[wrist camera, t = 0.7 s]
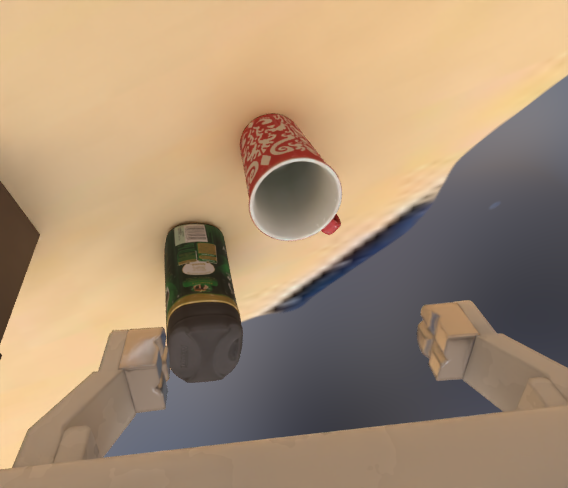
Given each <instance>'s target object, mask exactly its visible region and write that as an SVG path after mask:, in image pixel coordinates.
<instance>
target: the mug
mask: <svg viewBox="0 0 568 488" xmlns="http://www.w3.org/2000/svg"><path fill="white" fill-rule="evenodd" d="M240 150H241V156H242V160H243V166H244V171H245V177H246V183H247V188H248V194H249V212H250V216H251V218H252V221H253V222H254V224H255V226H256V227H257V228H258V229H259V230H260V231H261V232H262V233H264V234H265V235H267V236H269V237H271V238H274V239H277V240H282V241H296V240H301V239H305V238H307V237H310V236H312V235H314V234H316V233H318V232H319V231H322V232H324V233H325V234H328V235H330V234H332V233H334V232H335V231H336V230H337V229H338V228H339V227H340V225H341V222H340V219H339V217H338V216H337V214H336V213H337V211H338V209H339V207H340V204H341V199H342V187H341V183H340V180H339V178H338V176H337V174H336V172H335V171H334V170H333V169H332V168H331V167H330V166H329V165H327V164H326V163H325V162H324V160H323V159H322V158H321V156H320V155H319V154H318V153H317V151H316V150H315V149H314V148H313V146H312V145H311V144H310V142H309V141H308V140H307V139H306V137H305V136H304V135H303V134H302V132H301V131H300V129H299V128H298V127H297V126H296V125H295V123H294V122H293V121H291V120H290V119H289V118H287V117H285V116H282V115H279V114H266V115H263V116H260V117H258V118H256V119H254V120H253V121H252V122H250V123H249V124H248V126H247V127H246V128H245V130H244V131H243V133H242V136H241V140H240Z"/></svg>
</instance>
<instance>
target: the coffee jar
mask: <svg viewBox="0 0 568 488" xmlns="http://www.w3.org/2000/svg"><path fill="white" fill-rule="evenodd" d="M165 289H166V330H167V347H168V349H169V355H170V368H171V370H172V371H173V373H174V374H176V376H178V377H179V378H181V379H183V380H185V381H186V382H187V383H195V382H208V381H216V380H221V379H223V378H224V377H225V376H226V375H228V374H229V373H230V372H231V371H232V370H233V369H234V368H235V366H236V365H237V363H238V361H239V358H240V354H241V349H242V337H243V330H242V326H241V320H240V313H239V310H238V307H237V303H236V298H235V294H234V289H233V284H232V279H231V274H230V269H229V263H228V258H227V252H226V246H225V241H224V236H223V234H222V232H221V231H220V230H219V229H218V228H216V227H214V226H211V225H207V224H197V223H193V224H185V225H180V226H177V227H175V228H173V229H172V230H171V231H170V232H169V233H168V235H167V238H166V242H165Z"/></svg>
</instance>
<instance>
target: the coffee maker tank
mask: <svg viewBox="0 0 568 488" xmlns="http://www.w3.org/2000/svg"><path fill="white" fill-rule="evenodd" d="M39 236H40V234H39V233H38V231H37V230H36V229H35V227H34V226H33V225H32V223H31V222H30V221H29V219H28V218H27V217H26V215H25V214H24V213H23V211H22V210H21V209H20V207H19V206H18V205H17V203H16V202H15V201H14V199H13V198H12V197H11V195H10V194H9V192H8V191H7V190H6V188H5V187H4V186H3V184H2V183H1V182H0V343H1V340H2V338H3V335H4V332H5V329H6V327H7V324H8V321H9V318H10V316H11V313H12V310H13V307H14V305H15V302H16V299H17V296H18V294H19V291H20V288H21V285H22V283H23V280H24V277H25V275H26V272H27V269H28V266H29V264H30V261H31V258H32V255H33V253H34V250H35V247H36V244H37V242H38V239H39ZM1 357H2V355H1V354H0V359H1Z"/></svg>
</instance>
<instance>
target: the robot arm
mask: <svg viewBox="0 0 568 488" xmlns="http://www.w3.org/2000/svg"><path fill="white" fill-rule="evenodd" d="M421 316H422V318H423V321H422V322H421V323H420V324H419V325H418V329H417V341H418V345H419V347H420V350H421V352H422V354H424V355H425V356H427V357H428V358H430V359H429V364H428V365H429V367H430V368H431V371H432V372H433V374H434V376H435V378H436V380H437V381H441V380H454V379H463V381H465V382H466V383H468V384H469V385H470V386H471V387H472V388H474V389H475V390H476V391H478V392H479V393H480V394H482V395H483V396H484V397H485V398H486V399H488V400H489V401H490V402H492V403H493V404H494V405H495V406H497V407H498V408H499V409H501V410H502V411H503V412H499V413H490V414H482V415H473V416H465V417H456V418H447V419H438V420H430V421H421V422H412V423H403V424H394V425H386V426H378V427H377V426H376V427H368V428H360V429H350V430H341V431H333V432H324V433H316V434H307V435H298V436H289V437H281V438H272V439H263V440H254V441H246V442H237V443H228V444H219V445H210V446H202V447H193V448H184V449H176V450H167V451H158V452H150V453H141V454H132V455H123V456H115V457H106V458H103V457H104V455H105V454H106V453H107V452H108V451H109V449H110V448H111V447H112V445H113V444H114V443H115V441H116V440H117V439H118V437H119V436H120V435H121V434H122V432H123V431H124V430H125V428H126V427H127V426H128V424H129V423H130V422H131V420H132V419H133V418H134V417H135V415H136V414H135V413H140V412H148V411H156V410H163V409H165V408H166V400H167V392H168V390H167V385H166V381H167V380H168V379H169V374H170V355H169V349H168V347H167V346H166V345H165V342H166V334H165V329H164V328H163V327H156V328H140V329H130V330H113V331H112V332H111V333H110V334H109V338H108V341H107V344H106V347H105V351H104V354H103V357H102V361H101V364H100V367H99V371H98V372H93V373H91V374H90V375H89V376H88V377H87V378H86V379H85V380H84V381H82V382H81V383H80V384H79V385H78V386H77V387H76V388H75V389H73V390H72V391H71V392H70V393H69V394H68V395H67V396H66V397H64V398H63V399H62V400H61V401H60V402H59V403H58V404H57V405H55V406H54V407H53V408H52V409H51V410H50V411H49V412H47V413H46V414H45V415H44V416H43V417H42V418H41V419H40V420H38V421H37V422H36V423H35V424H34V425H33V426H32V427H31V428H29V429H28V431H27V433H26V436H25V438H24V441H23V443H22V445H21V448H20V450H19V452H18V455H17V457H16V460H15V462H14V464H13V467H12V468H9V469H0V488H568V368H567V367H565V366H563V365H561V364H559V363H557V362H555V361H553V360H551V359H549V358H547V357H546V356H544V355H542V354H540V353H538V352H536V351H534V350H532V349H530V348H528V347H526V346H525V345H523V344H520V343H519V342H516V341H515V340H513V339H511V338H509V337H507V336H505V335H503V334H497V333H496V332H495V330H494V329H493V328H492V327H491V325H490V324H489V323H488V321H487V320H486V319H485V318H484V316H483V315H482V314H481V312H480V311H479V310H478V309H477V307H476V306H475V305H474V304H473V302H471V301H470V300H466V301H457V302H450V303H438V304H427V305H424V306H423V307H422V309H421Z"/></svg>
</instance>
